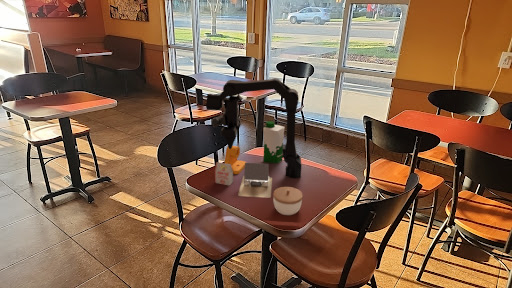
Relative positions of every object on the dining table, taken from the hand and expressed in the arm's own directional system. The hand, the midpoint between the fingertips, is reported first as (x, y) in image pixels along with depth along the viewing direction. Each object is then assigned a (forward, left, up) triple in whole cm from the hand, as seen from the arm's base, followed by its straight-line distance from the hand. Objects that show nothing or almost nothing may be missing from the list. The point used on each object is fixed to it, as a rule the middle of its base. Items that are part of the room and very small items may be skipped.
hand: (231, 144), depth 144 cm
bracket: (-1, -4, -15) cm, 15 cm away
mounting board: (-12, +12, -14) cm, 22 cm away
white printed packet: (+2, +10, -15) cm, 18 cm away
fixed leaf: (-12, +8, -13) cm, 20 cm away
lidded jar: (-25, +28, -15) cm, 40 cm away
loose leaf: (-12, +11, -8) cm, 19 cm away
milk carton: (-18, -16, -15) cm, 28 cm away
